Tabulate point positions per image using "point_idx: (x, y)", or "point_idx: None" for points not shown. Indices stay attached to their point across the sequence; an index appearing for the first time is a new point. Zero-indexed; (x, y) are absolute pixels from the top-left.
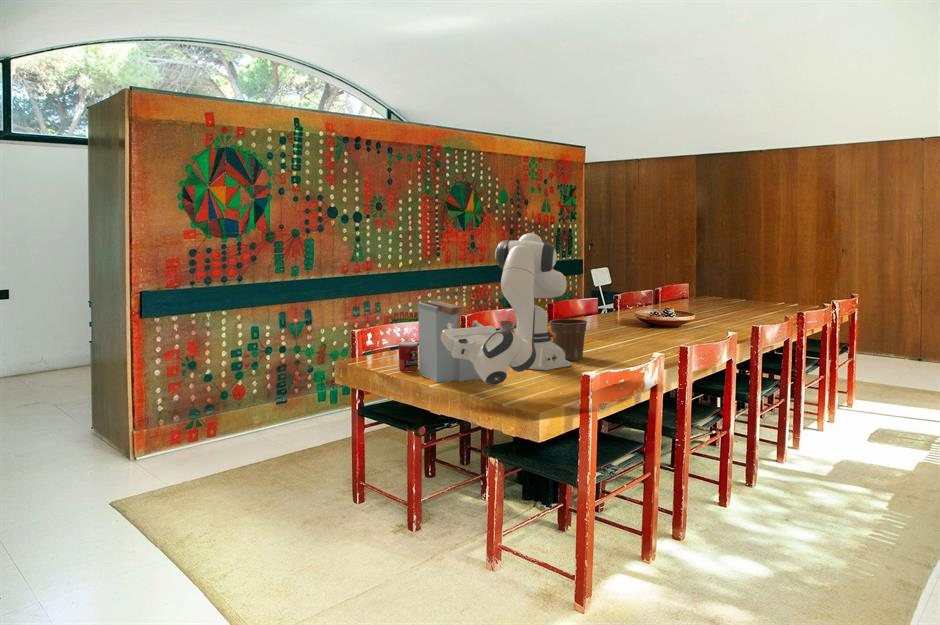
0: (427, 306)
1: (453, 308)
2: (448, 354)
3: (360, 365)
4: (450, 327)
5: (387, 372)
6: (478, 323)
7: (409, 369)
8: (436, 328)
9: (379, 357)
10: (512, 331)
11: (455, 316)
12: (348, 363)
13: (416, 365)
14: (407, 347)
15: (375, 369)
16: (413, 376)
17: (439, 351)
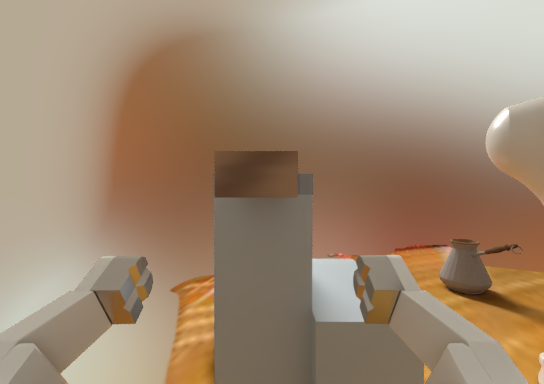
0: None
1: (235, 157)
2: (269, 377)
3: (194, 293)
4: (26, 328)
5: (192, 332)
6: (426, 299)
7: None
8: (215, 262)
9: None
10: (478, 259)
11: (304, 217)
12: (190, 284)
13: None
14: None
15: (193, 312)
16: (211, 377)
17: (227, 361)
